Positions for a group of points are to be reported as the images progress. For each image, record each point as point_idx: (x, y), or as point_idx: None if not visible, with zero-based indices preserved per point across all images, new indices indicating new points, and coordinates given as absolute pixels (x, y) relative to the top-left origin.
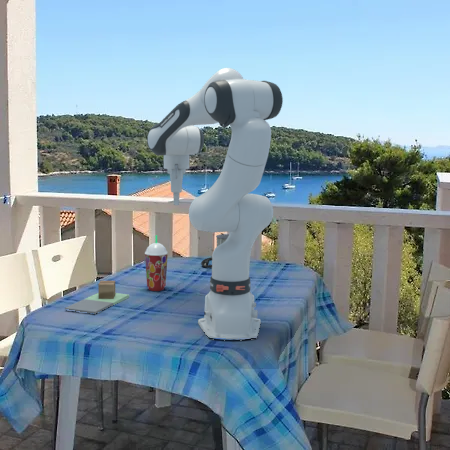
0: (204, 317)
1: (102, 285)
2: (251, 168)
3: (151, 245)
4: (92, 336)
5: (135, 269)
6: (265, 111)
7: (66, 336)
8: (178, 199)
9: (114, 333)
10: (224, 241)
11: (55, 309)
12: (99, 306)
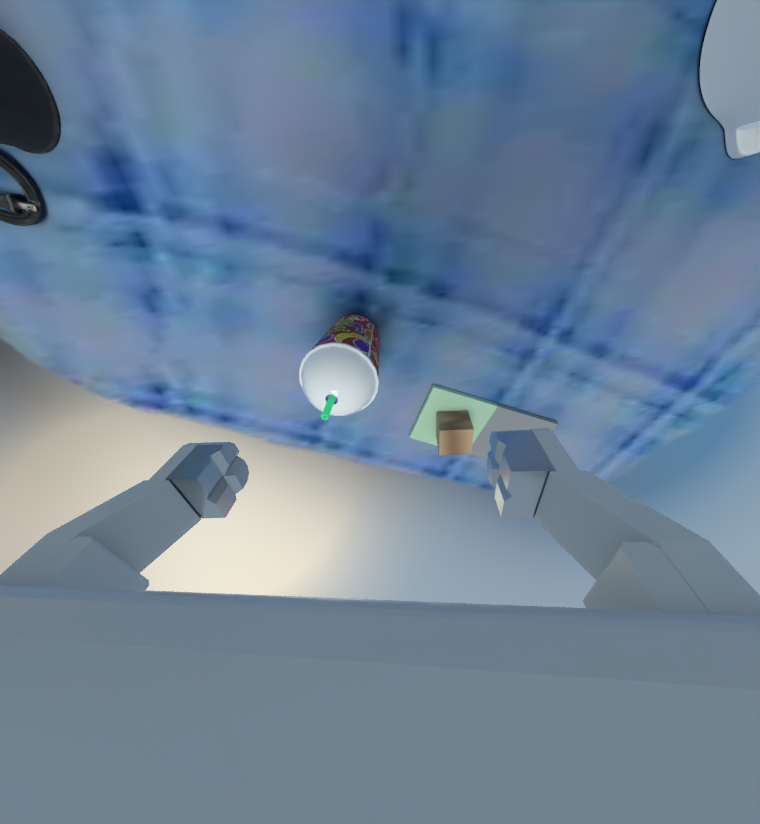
0: (746, 129)
1: (471, 445)
2: None
3: (349, 409)
4: (695, 403)
5: (189, 406)
6: None
7: (671, 438)
8: (594, 482)
9: (698, 371)
10: None
11: None
12: (522, 424)
